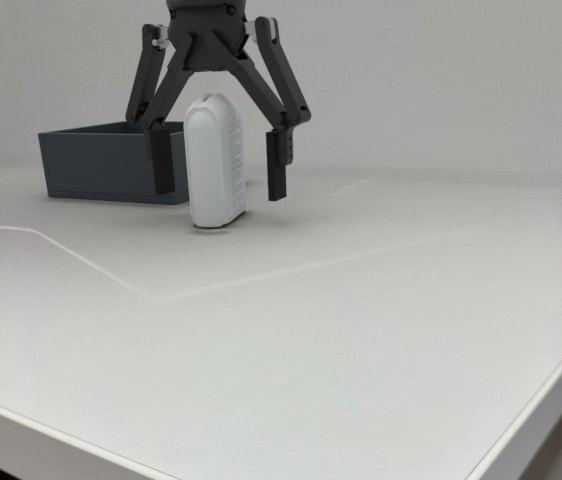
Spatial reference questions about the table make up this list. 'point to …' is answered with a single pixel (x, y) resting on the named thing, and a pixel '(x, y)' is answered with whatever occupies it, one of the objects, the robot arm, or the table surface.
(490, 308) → the table surface
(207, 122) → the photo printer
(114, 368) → the table surface
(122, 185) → the bin
